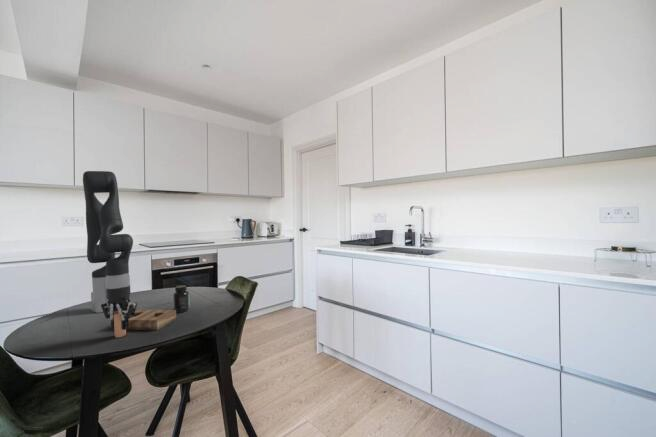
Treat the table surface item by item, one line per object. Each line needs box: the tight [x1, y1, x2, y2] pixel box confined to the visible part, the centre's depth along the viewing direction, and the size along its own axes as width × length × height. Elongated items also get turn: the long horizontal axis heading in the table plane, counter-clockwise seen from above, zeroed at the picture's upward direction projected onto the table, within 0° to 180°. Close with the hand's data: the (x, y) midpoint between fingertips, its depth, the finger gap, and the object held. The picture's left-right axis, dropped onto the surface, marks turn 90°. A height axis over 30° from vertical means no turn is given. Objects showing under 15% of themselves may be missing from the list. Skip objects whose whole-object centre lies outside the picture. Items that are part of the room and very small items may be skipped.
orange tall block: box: [113, 310, 127, 338], centre depth 109 cm, size 4×4×9 cm
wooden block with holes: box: [126, 308, 177, 331], centre depth 121 cm, size 20×12×4 cm, turn 84°
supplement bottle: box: [172, 284, 190, 314], centre depth 136 cm, size 7×7×12 cm
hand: (120, 328), depth 109 cm, fingers closed on orange tall block, 3 cm apart
